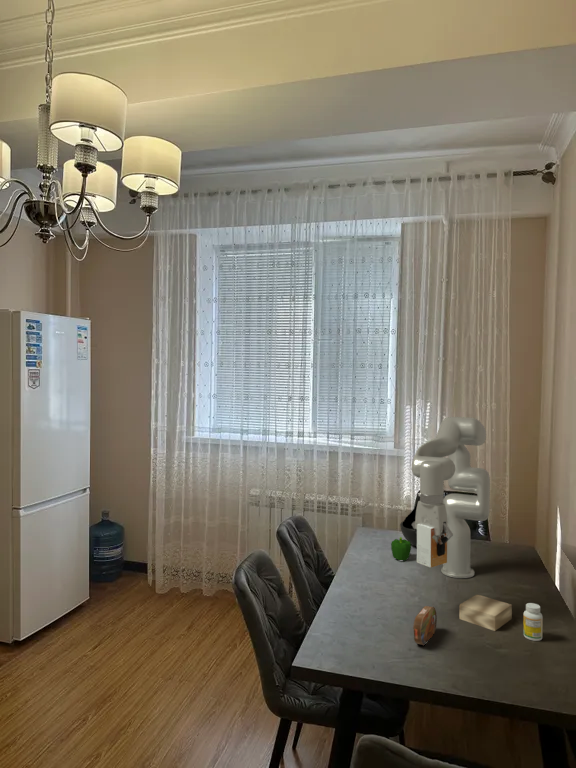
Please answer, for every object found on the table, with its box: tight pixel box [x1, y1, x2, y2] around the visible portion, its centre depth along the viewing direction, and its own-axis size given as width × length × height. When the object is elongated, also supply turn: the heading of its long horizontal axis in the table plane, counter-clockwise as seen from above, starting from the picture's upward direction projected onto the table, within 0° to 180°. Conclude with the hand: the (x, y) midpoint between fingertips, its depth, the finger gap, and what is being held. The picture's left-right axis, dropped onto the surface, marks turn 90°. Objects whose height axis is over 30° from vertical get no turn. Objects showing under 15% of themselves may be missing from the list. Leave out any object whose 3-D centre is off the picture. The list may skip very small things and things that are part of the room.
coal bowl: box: [399, 505, 417, 547], centre depth 255 cm, size 20×20×19 cm
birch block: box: [458, 593, 513, 632], centre depth 181 cm, size 12×12×5 cm
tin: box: [412, 605, 438, 646], centre depth 168 cm, size 15×3×8 cm, turn 148°
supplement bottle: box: [522, 602, 544, 642], centre depth 168 cm, size 5×5×10 cm
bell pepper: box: [390, 536, 412, 561], centre depth 238 cm, size 8×8×10 cm
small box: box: [416, 524, 447, 568], centre depth 184 cm, size 8×6×13 cm
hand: (431, 551), depth 184 cm, fingers closed on small box, 6 cm apart
